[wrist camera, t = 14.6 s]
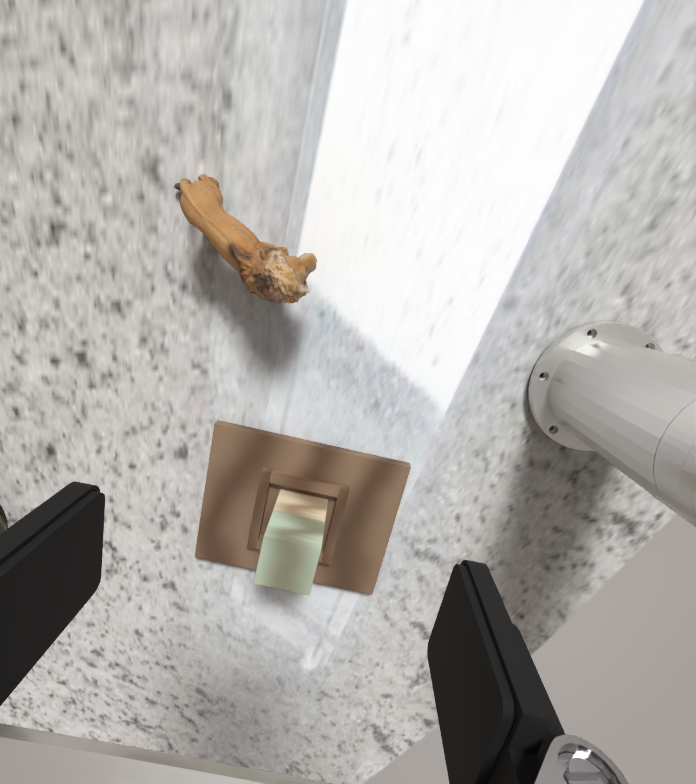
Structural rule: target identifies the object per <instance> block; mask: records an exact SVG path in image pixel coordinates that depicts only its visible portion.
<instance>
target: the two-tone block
mask: <svg viewBox="0 0 696 784" xmlns="http://www.w3.org/2000/svg"><path fill="white" fill-rule="evenodd" d="M327 504H328V499H324V498H320V497H316V496H311V495H307V494H303V493H298V492H294V491H289V490H285V489H281V490H280V492H279V495H278V498H277V501H276V504H275V506H274V509H273V512H272V515H271V517H270V520H269V523H268V526H267V529H266V531H265V534H264V538H263V542H262V547H261V551H260V556H259V561H258V565H257V570H256V575H255V579H254V584H258V585H263V586H267V587H272V588H276V589H281V590H286V591H290V592H295V593H299V594H304V595H309V594H310V590H311V586H312V583H313V579H314V575H315V571H316V567H317V564H318V560H319V556H320V552H321V548H322V541H323V533H324V526H325V518H326V511H327Z"/></svg>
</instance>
